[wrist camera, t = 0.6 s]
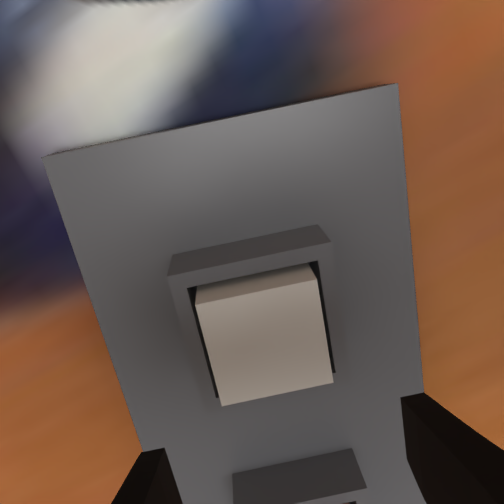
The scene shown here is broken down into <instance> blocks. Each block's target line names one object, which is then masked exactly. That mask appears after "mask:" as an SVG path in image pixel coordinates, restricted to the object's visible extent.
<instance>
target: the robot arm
mask: <svg viewBox="0 0 504 504" xmlns="http://www.w3.org/2000/svg"><path fill="white" fill-rule="evenodd" d="M400 400H401V409H402V419H403V428H404V438H405V447H406V457H407V461H408V463H409V466H410V468H411V471H412V473H413V475H414V478H415V480H416V482H417V485H418V487H419V489H420V491H421V494H422V496H423V498H424V500H425V502H426V504H504V450H502V449H501V448H499V447H498V446H496V445H495V444H493V443H492V442H491V441H489V440H488V439H486V438H485V437H483V436H482V435H480V434H479V433H478V432H476V431H475V430H473V429H472V428H471V427H469V426H468V425H466V424H465V423H464V422H462V421H461V420H460V419H458V418H457V417H456V416H454V415H453V414H452V413H450V412H449V411H448V410H446V409H445V408H444V407H442V406H441V405H440V404H439V403H437V402H436V401H435V400H433V399H432V398H431V397H429V396H428V395H426V394H425V393H424V392H423V393H418V394H414V395H409V396H404V397H400ZM111 504H183V502H182V499H181V496H180V493H179V490H178V487H177V484H176V481H175V478H174V475H173V472H172V469H171V466H170V463H169V459H168V456H167V453H166V450H165V447H164V448H160V449H155V450H150V451H145V452H141V454H140V455H139V457H138V458H137V460H136V462H135V463H134V465H133V467H132V469H131V470H130V472H129V474H128V476H127V477H126V479H125V481H124V483H123V484H122V486H121V488H120V489H119V491H118V493H117V495H116V496H115V498H114V500H113V501H112V503H111Z"/></svg>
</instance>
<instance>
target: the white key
mask: <svg viewBox="0 0 504 504" xmlns="http://www.w3.org/2000/svg"><path fill="white" fill-rule="evenodd" d="M195 307H196V310H197V314H198V318H199V322H200V325H201V329H202V333H203V337H204V341H205V344H206V348H207V352H208V356H209V360H210V363H211V367H212V371H213V375H214V379H215V382H216V386H217V390H218V394H219V398H220V401H221V405H222V406H226V405H231V404H235V403H240V402H245V401H250V400H254V399H259V398H264V397H268V396H273V395H278V394H283V393H287V392H292V391H297V390H301V389H306V388H311V387H315V386H320V385H325V384H330V383H334V382H333V376H332V370H331V364H330V357H329V351H328V345H327V339H326V333H325V326H324V320H323V314H322V308H321V302H320V295H319V289H318V283H317V279H316V277H315V275H314V273H313V271H312V269H311V268H310V266H309V264H308V262H307V263H302V264H298V265H293V266H288V267H284V268H279V269H274V270H269V271H265V272H260V273H255V274H250V275H246V276H241V277H236V278H231V279H227V280H222V281H217V282H212V283H208V284H203V285H198V286H197V292H196V301H195Z"/></svg>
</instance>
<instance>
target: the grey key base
mask: <svg viewBox="0 0 504 504" xmlns="http://www.w3.org/2000/svg"><path fill="white" fill-rule="evenodd" d="M41 158H42V161H43V164H44V167H45V170H46V172H47V175H48V178H49V181H50V184H51V187H52V190H53V193H54V195H55V198H56V201H57V204H58V207H59V210H60V213H61V216H62V219H63V221H64V224H65V227H66V230H67V233H68V236H69V239H70V242H71V244H72V247H73V250H74V253H75V256H76V259H77V262H78V265H79V268H80V270H81V273H82V276H83V279H84V282H85V285H86V288H87V291H88V294H89V296H90V299H91V302H92V305H93V308H94V311H95V314H96V317H97V320H98V322H99V325H100V328H101V331H102V334H103V337H104V340H105V343H106V345H107V348H108V351H109V354H110V357H111V360H112V363H113V366H114V369H115V371H116V374H117V377H118V380H119V383H120V386H121V389H122V392H123V394H124V397H125V400H126V403H127V406H128V409H129V412H130V415H131V418H132V420H133V423H134V426H135V429H136V432H137V435H138V438H139V441H140V444H141V446H142V449H143V452H145V451H150V450H155V449H160V448H164V447H165V450H166V453H167V456H168V459H169V463H170V466H171V469H172V472H173V475H174V478H175V481H176V484H177V487H178V490H179V493H180V496H181V499H182V502H183V504H343V503H348V502H349V504H426V502H425V500H424V498H423V496H422V494H421V491H420V489H419V487H418V485H417V482H416V480H415V478H414V475H413V473H412V471H411V468H410V466H409V463H408V461H407V457H406V447H405V438H404V428H403V419H402V409H401V400H400V397H404V396H409V395H414V394H418V393H423V392H424V387H423V375H422V363H421V352H420V340H419V328H418V316H417V304H416V292H415V280H414V268H413V256H412V245H411V233H410V221H409V209H408V197H407V185H406V173H405V161H404V149H403V137H402V126H401V114H400V102H399V90H398V83H393V84H383V85H378V86H373V87H369V88H364V89H359V90H354V91H349V92H345V93H340V94H335V95H330V96H325V97H321V98H316V99H311V100H306V101H301V102H297V103H292V104H287V105H282V106H278V107H273V108H268V109H263V110H258V111H254V112H249V113H244V114H239V115H234V116H230V117H225V118H220V119H215V120H210V121H206V122H201V123H196V124H191V125H187V126H182V127H177V128H172V129H167V130H163V131H158V132H153V133H148V134H143V135H139V136H134V137H129V138H124V139H119V140H115V141H110V142H105V143H100V144H95V145H91V146H86V147H81V148H76V149H72V150H67V151H62V152H57V153H53V154H50V155H47V156H44V157H41ZM307 262H308V264H309V266H310V268H311V269H312V271H313V273H314V275H315V277H316V279H317V283H318V289H319V295H320V302H321V308H322V314H323V320H324V326H325V333H326V339H327V345H328V351H329V357H330V364H331V370H332V376H333V382H334V383H330V384H325V385H320V386H315V387H311V388H306V389H301V390H297V391H292V392H287V393H283V394H278V395H273V396H268V397H264V398H259V399H254V400H250V401H245V402H240V403H235V404H231V405H226V406H222V405H221V401H220V398H219V394H218V390H217V386H216V382H215V379H214V375H213V371H212V367H211V363H210V360H209V356H208V352H207V348H206V344H205V341H204V337H203V333H202V329H201V325H200V322H199V318H198V314H197V310H196V307H195V301H196V292H197V286H198V285H203V284H208V283H212V282H217V281H222V280H227V279H231V278H236V277H241V276H246V275H250V274H255V273H260V272H265V271H269V270H274V269H279V268H284V267H288V266H293V265H298V264H302V263H307Z"/></svg>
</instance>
